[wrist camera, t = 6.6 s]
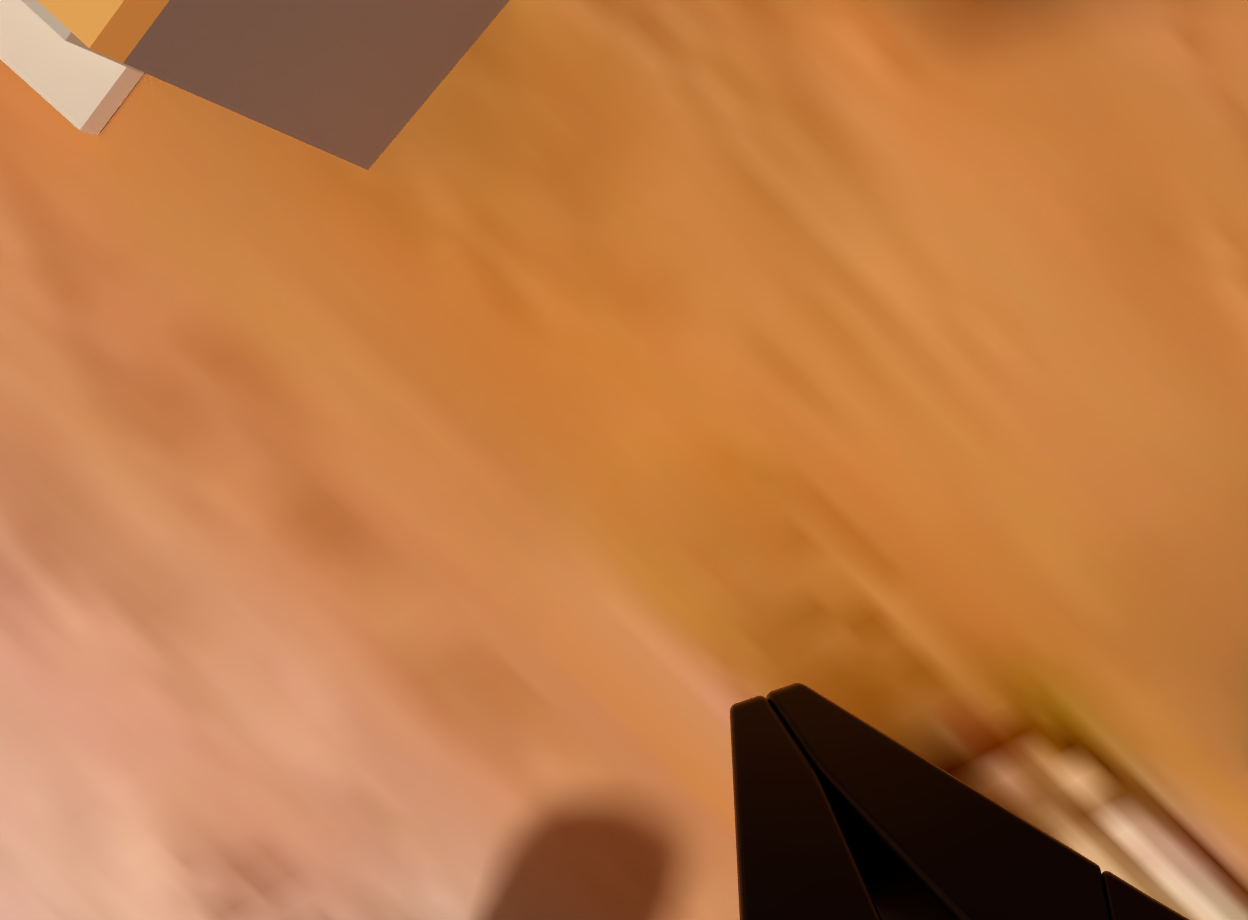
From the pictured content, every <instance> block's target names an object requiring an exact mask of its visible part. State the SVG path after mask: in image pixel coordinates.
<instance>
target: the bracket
mask: <svg viewBox="0 0 1248 920" xmlns="http://www.w3.org/2000/svg"><path fill="white" fill-rule="evenodd" d="M0 59H1V60H2V61H3V62H4V63H5V64H6V65H7V66H9V67H10V68H11V69H12V70H13V71H14V72H15V73H16V74H17V75H19V76H20V77H21V78H22V79H23V80H24V81H25V82H26V83H27V84H29V85H30V86H31V87H32V88H33V89H34V90H35V91H36V92H38V93H39V94H40V95H41V96H42V97H43V98H44V99H45V100H46V101H48V102H49V103H50V104H51V105H52V106H53V107H54V108H55V109H57V110H58V111H59V112H60V113H61V114H62V115H63V116H64V117H65V118H67V119H68V120H69V121H70V122H71V123H72V124H73V125H74V126H75V127H77V128H78V129H79V130H81V131H84V132H88V133H91V134H95V135H98V134H99V133H100V131H101V130H102V129H103V127H104V126H105V125H106V123H107V122H108V121H109V119H110V118H111V117H112V115H113V114H114V113H115V111H116V110H117V109H118V108H119V106H120V105H121V104H122V102H123V101H124V100H125V98H126V97H127V96H128V94H129V93H130V92H131V90H132V89H133V88H134V86H135V85H136V84H137V82H138V81H139V80H140V78H141V77H142V76H143V74H144V73H145V72H142V71H140V70H138V69H135V68H133V67H131V66H129V65H126V64H124V63H122V62H119V61H117V60H115V59H113V58H110V57H108V56H106V55H103V54H101V53H99V52H97V51H94V50H92V49H90V48H88V47H87V46H86V45H85V44H84V43H83V42H82V41H81V40H80V39H78V38H77V37H76V36H75V35H74V34H73V33H72V32H71V31H70V30H69V29H68V28H66V27H65V26H64V25H63V24H62V23H61V22H60V21H59V20H58V19H57V18H56V17H54V16H53V15H52V14H51V13H50V12H49V11H48V10H47V9H46V8H45V7H44V6H42V5H41V4H40V3H39V2H38V1H37V0H0Z"/></svg>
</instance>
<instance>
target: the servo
mask: <svg viewBox="0 0 1248 920" xmlns="http://www.w3.org/2000/svg"><path fill="white" fill-rule="evenodd" d="M37 1H38V2H39V3H40V4H41V5H42V6H44V7H45V8H46V9H47V10H48V11H49V12H50V13H51V14H52V15H53V16H54V17H56V18H57V19H58V20H59V21H60V22H61V23H62V24H63V25H64V26H65V27H66V28H68V29H69V30H70V31H71V32H72V33H73V34H74V35H75V36H76V37H77V38H78V39H80V40H81V41H82V42H83V43H84V44H85V45H86V46H87V47H88V48H90V49H92V50H94V51H97V52H99V53H101V54H103V55H106V56H108V57H110V58H113V59H115V60H117V61H119V62H122V63H124V64H126V65H129V66H131V67H133V68H135V69H138V70H140V71H142V72H145V73H147V74H149V75H152V76H154V77H156V78H158V79H161V80H163V81H165V82H168V83H170V84H172V85H174V86H177V87H179V88H181V89H184V90H186V91H188V92H191V93H193V94H195V95H197V96H200V97H202V98H204V99H207V100H209V101H211V102H213V103H216V104H218V105H220V106H223V107H225V108H227V109H229V110H232V111H234V112H236V113H239V114H241V115H243V116H246V117H248V118H250V119H252V120H255V121H257V122H259V123H262V124H264V125H266V126H268V127H271V128H273V129H275V130H278V131H280V132H282V133H285V134H287V135H289V136H291V137H294V138H296V139H298V140H301V141H303V142H305V143H307V144H310V145H312V146H314V147H317V148H319V149H321V150H323V151H326V152H328V153H330V154H333V155H335V156H337V157H340V158H342V159H344V160H346V161H349V162H351V163H353V164H356V165H358V166H360V167H362V168H365V169H367V170H368V169H369V168H370V167H371V166H372V164H373V163H374V162H375V161H376V160H377V158H378V157H379V156H380V155H381V154H382V152H383V151H384V150H385V149H386V148H387V146H388V145H389V144H390V143H391V142H392V140H393V139H394V138H395V137H396V136H397V134H398V133H399V132H400V131H401V130H402V128H403V127H404V126H405V125H406V124H407V122H408V121H409V120H410V119H411V118H412V116H413V115H414V114H415V113H416V112H417V110H418V109H419V108H420V107H421V106H422V104H423V103H424V102H425V101H426V100H427V98H428V97H429V96H430V95H431V94H432V92H433V91H434V90H435V89H436V88H437V86H438V85H439V84H440V83H441V82H442V80H443V79H444V78H445V77H446V76H447V75H448V73H449V72H450V71H451V70H452V69H453V67H454V66H455V65H456V64H457V63H458V61H459V60H460V59H461V58H462V57H463V55H464V54H465V53H466V52H467V51H468V49H469V48H470V47H471V46H472V45H473V43H474V42H475V41H476V40H477V39H478V37H479V36H480V35H481V34H482V33H483V31H484V30H485V29H486V28H487V27H488V25H489V24H490V23H491V22H492V21H493V19H494V18H495V17H496V16H497V15H498V13H499V12H500V11H501V10H502V9H503V7H504V6H505V5H506V4H507V3H508V1H509V0H37Z"/></svg>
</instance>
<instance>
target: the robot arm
mask: <svg viewBox="0 0 1248 920" xmlns="http://www.w3.org/2000/svg"><path fill="white" fill-rule="evenodd" d="M730 725H731V745H732V766H733V787H734V808H735V828H736V849H737V870H738V891H739V912H740V920H1189V919H1187V918H1185V917H1184V916H1182V915H1180V914H1179V913H1177V912H1175V911H1173V910H1172V909H1170V908H1168V907H1167V906H1165V905H1163V904H1162V903H1160V902H1158V901H1156V900H1155V899H1153V898H1151V897H1150V896H1148V895H1146V894H1145V893H1143V892H1141V891H1140V890H1138V889H1137V888H1135V887H1133V886H1132V885H1130V884H1128V883H1127V882H1125V881H1124V880H1122V879H1120V878H1119V877H1117V876H1115V875H1114V874H1112V873H1111V872H1109V871H1104V872H1103V873H1102V874H1101V870H1100V867H1099V866H1098V865H1097V864H1095V863H1094V862H1092V861H1090V860H1089V859H1087V858H1086V857H1084V856H1082V855H1081V854H1079V853H1077V852H1076V851H1074V850H1073V849H1071V848H1069V847H1068V846H1066V845H1064V844H1063V843H1061V842H1060V841H1058V840H1056V839H1055V838H1053V837H1051V836H1050V835H1048V834H1047V833H1045V832H1043V831H1042V830H1040V829H1038V828H1037V827H1035V826H1033V825H1032V824H1030V823H1029V822H1027V821H1025V820H1024V819H1022V818H1020V817H1019V816H1017V815H1016V814H1014V813H1012V812H1011V811H1009V810H1007V809H1006V808H1004V807H1003V806H1001V805H999V804H998V803H996V802H994V801H993V800H991V799H990V798H988V797H986V796H985V795H983V794H981V793H980V792H978V791H977V790H975V789H973V788H972V787H970V786H968V785H967V784H965V783H963V782H962V781H960V780H959V779H957V778H955V777H954V776H952V775H950V774H949V773H947V772H946V771H944V770H942V769H941V768H939V767H937V766H936V765H934V764H933V763H931V762H929V761H928V760H926V759H924V758H923V757H921V756H920V755H918V754H916V753H915V752H913V751H911V750H910V749H908V748H906V747H905V746H903V745H902V744H900V743H898V742H897V741H895V740H893V739H892V738H890V737H889V736H887V735H885V734H884V733H882V732H880V731H879V730H877V729H876V728H874V727H872V726H871V725H869V724H867V723H866V722H864V721H863V720H861V719H859V718H858V717H856V716H854V715H853V714H851V713H850V712H848V711H846V710H845V709H843V708H841V707H840V706H838V705H836V704H835V703H833V702H832V701H830V700H828V699H827V698H825V697H823V696H822V695H820V694H819V693H817V692H815V691H814V690H812V689H810V688H809V687H807V686H805V685H804V684H800V683H795V684H792V685H789V686H786V687H783V688H780V689H777V690H774V691H771V692H770V693H769V694H768V695H767V697H766V698H765V697H763V696H757V697H754V698H751V699H748V700H745V701H742V702H739V703H736V704H734V705H732V707H731V709H730Z"/></svg>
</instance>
